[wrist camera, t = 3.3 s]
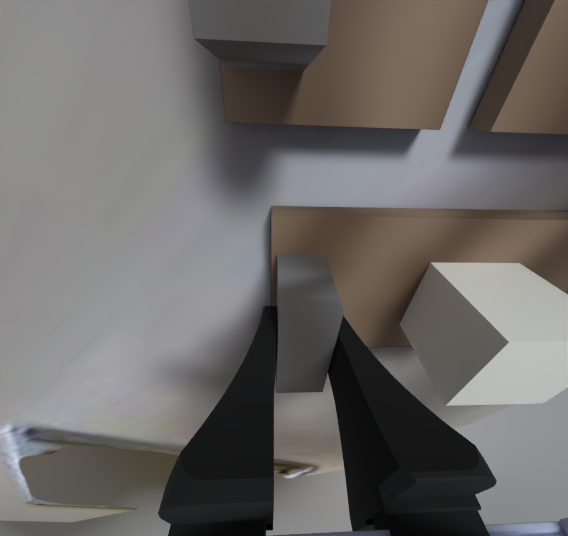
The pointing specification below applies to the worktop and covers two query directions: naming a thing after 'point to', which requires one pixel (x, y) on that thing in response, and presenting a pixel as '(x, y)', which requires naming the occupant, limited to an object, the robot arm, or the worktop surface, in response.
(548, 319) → the ceramic block
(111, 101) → the worktop surface
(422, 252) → the walnut strip
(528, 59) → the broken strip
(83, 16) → the worktop surface
